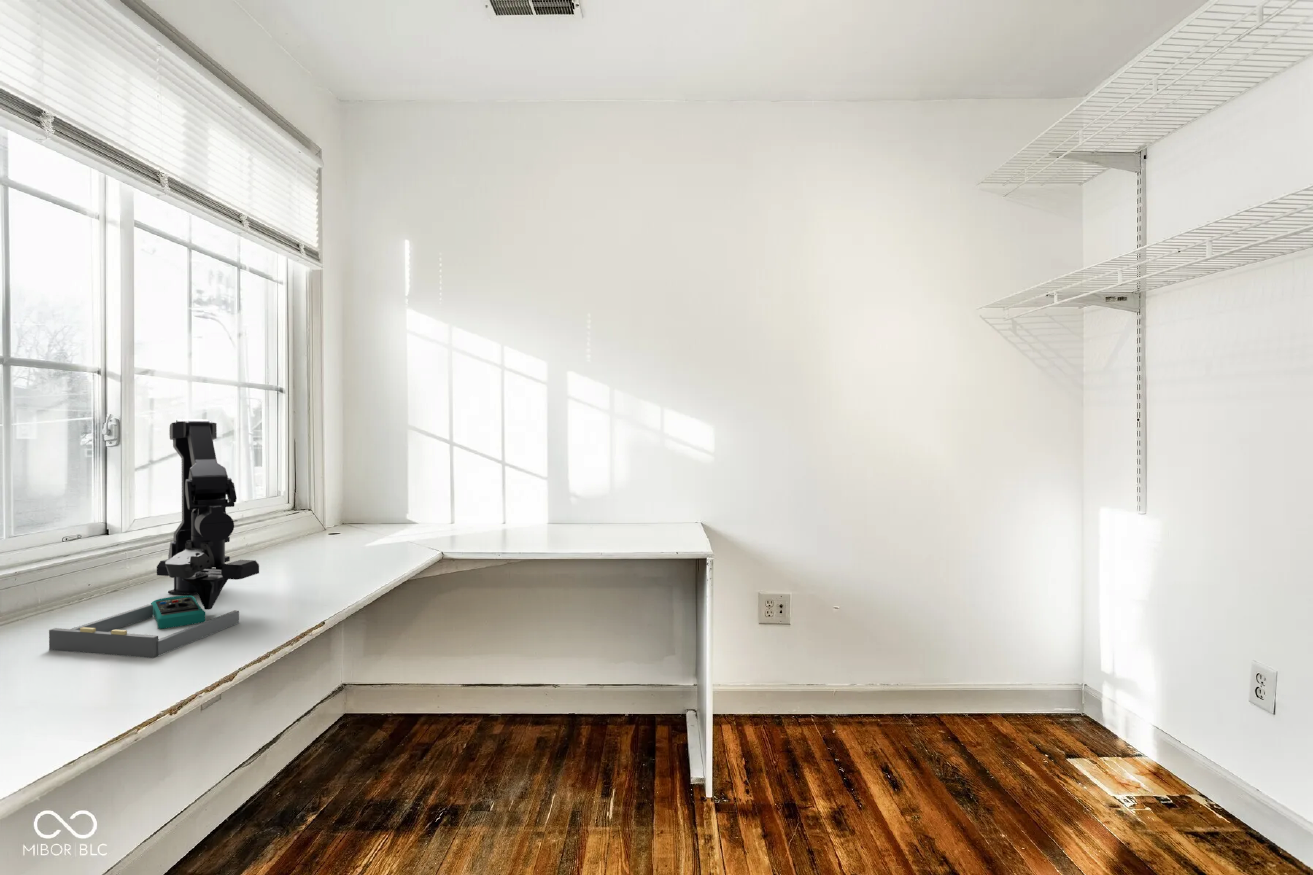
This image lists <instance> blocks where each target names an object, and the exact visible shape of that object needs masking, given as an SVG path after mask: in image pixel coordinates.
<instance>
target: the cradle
mask: <svg viewBox="0 0 1313 875" xmlns="http://www.w3.org/2000/svg"><path fill="white" fill-rule="evenodd" d="M153 617H154V615H153V605H151V604H146V605H143V606H139V607H136V608H133V609H130V610H126V611H123V612H120V613H117V614H114V615H113V614H112V615H111V616H107V617H103V618H102V619H97V620H95V621H92V622H88V623H84V624H82V625H79V626H76V627H75V626H74V627H72V628H59V627H54V628H50V629H49V630H48V650H49V651H56V652H57V651H58V652H59V651H60V652H70V653H71V652H72V653H83V654H96V655H98V654H99V655H108V656H109V655H110V656H122V657H133V658H134V657H135V658H148V659H154V658H157V657H159V656H162V655H164V654H167V653H170V652H171V651H174V650H177V649H179V648H182V647H185V646H187V645H189V644H191V643H193V642H196V641H198V640H201V639H203V638H207V637H208V636H211V635H213V634H216V633H218V632H221V631H223V630H225V629H228V628H230V627H233V626H235V625H237V624H240V610H232V611H229V612H227V613H223V614H220V615H218V616H215V617H213V618H211V619H210V618H209V619H208V620H205V622H202V623H198V624H193V625H191V626H189V627H187V628H185V629H181V630H179V631H175V632H174V633H171V634H168V635H165V636H163V637H160V638H159V635H153V634H152V635H151V634H141V633H140V634H139V633H128V631H127V630H126V629H125V630H124V629H121V628H125V627H127V626H130V625H134V624H136V623H138V622H143V621H145V620H148V619H151V618H153Z"/></svg>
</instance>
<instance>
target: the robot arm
mask: <svg viewBox="0 0 1313 875" xmlns="http://www.w3.org/2000/svg"><path fill="white" fill-rule="evenodd" d="M217 426H218V425H217V423H216V422H213V421H211V420H209V419H177V418H176V421H174V422H171V423H170V425H169V433H168V435H169V439H170V440H172V447H173V449H174V450H175V451H176V454H178V456H179V457H180V458H181V523H180V524H179V525H178V526H177V528H176V529H175V531H174V533H173V535H172V536H173V541H170V543H169V550H168V555H167V556H168V557H167V559H164V560H160V561H159V563H158V564H157V566H156V576H160V577H161V576H164V577H169V578H173V589H171V590H168V591H167V593H168V594H173V595H174V594H176V595H186V596H194V595H196V594H198V595H197V596H198V598H199V600H200V602H201V605H202V606H203V610H204V611H206V610H207V611H209V610H212V609H213V607H214V606H215V603H216V602H217V600H218V598H219V596H220V594H221V592H222V590H223V588H224V587H225V585H226V583H227V582H228V580H242V579H246V578H249V577H251V576H255V575H257V574H260V564H259V563H258V562H257V560H256V559H255V560H254V559H251V560H250V559H238V560H235V561H232V562H231V561H230V560H231V559H230V556H229V555H226V543H229V542H230V536H231V535H232V533H233V531H234V530H235V529H234V528H235V522H234V520H233V518H232V516H230V515H229V514H228V513H227V511H226V510H227V509H226V508H232V507H235V503H236V502H237V492H236V486H235V483H234V482H233V480H232V478H231V477H229V475H228V473H227V469H226V467H225V466H223V465H222V464H220V463H218V461H217V460H218V459H217V456H216V455H217V454H216V449H215V445H214V440H216V439H217V438H218V437H217V436H218V435H217V434H218V432H217V431H218V430H217Z"/></svg>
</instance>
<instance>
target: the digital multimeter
mask: <svg viewBox="0 0 1313 875" xmlns="http://www.w3.org/2000/svg"><path fill="white" fill-rule="evenodd" d="M150 605H153V617H154V618H155V621H156V625H157V629H159V630H165V629H172V628H178V627H186V626H193V625H197V624H200V623H202V622H205V621H206V610H205V609H204V608H202V607H201V606H200V604H199V603H198V601H197V599H196V597H195V596H194V595H176V596H169V597H164V598H162V597H161V598H158V599H155V600H153V601H152V602H150Z"/></svg>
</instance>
